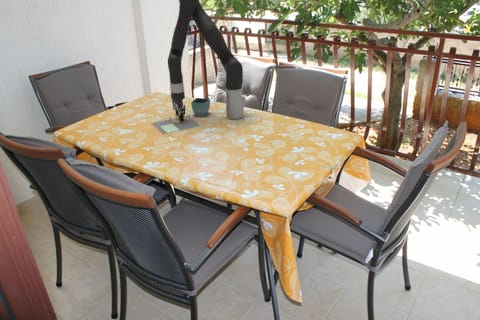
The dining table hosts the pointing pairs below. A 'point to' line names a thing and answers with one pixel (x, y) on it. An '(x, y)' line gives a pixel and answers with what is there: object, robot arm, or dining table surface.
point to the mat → (174, 125)
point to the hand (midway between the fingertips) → (179, 119)
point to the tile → (177, 119)
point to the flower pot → (200, 106)
